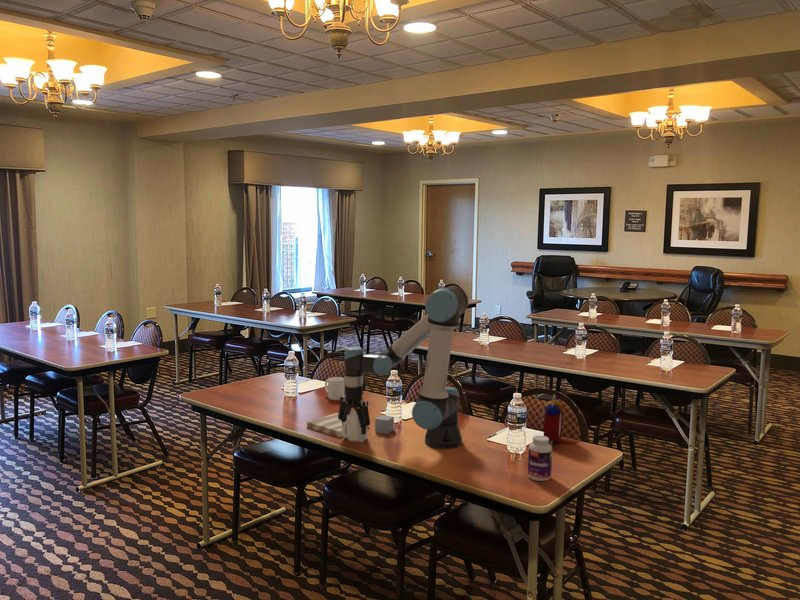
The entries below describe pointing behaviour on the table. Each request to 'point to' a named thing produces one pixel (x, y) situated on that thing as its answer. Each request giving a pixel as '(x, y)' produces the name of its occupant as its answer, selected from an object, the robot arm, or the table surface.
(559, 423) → the red spray bottle
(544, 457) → the pill bottle
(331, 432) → the birch slab
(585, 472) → the table surface
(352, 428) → the mug
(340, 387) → the cup
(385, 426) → the grey cube
